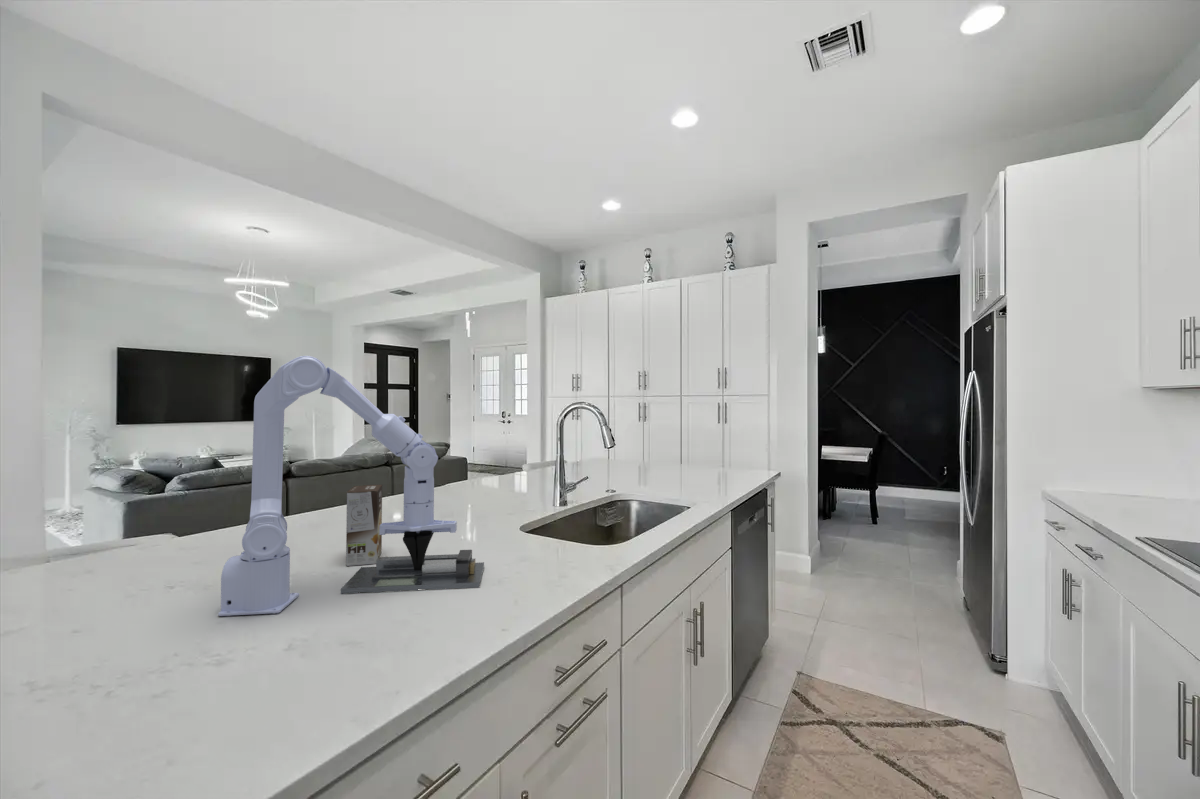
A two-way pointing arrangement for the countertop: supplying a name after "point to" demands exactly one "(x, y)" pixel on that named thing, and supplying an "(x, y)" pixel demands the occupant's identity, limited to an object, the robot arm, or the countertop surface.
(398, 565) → the heatsink base
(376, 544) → the coffee box
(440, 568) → the rectangular block
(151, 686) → the countertop surface
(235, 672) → the countertop surface
